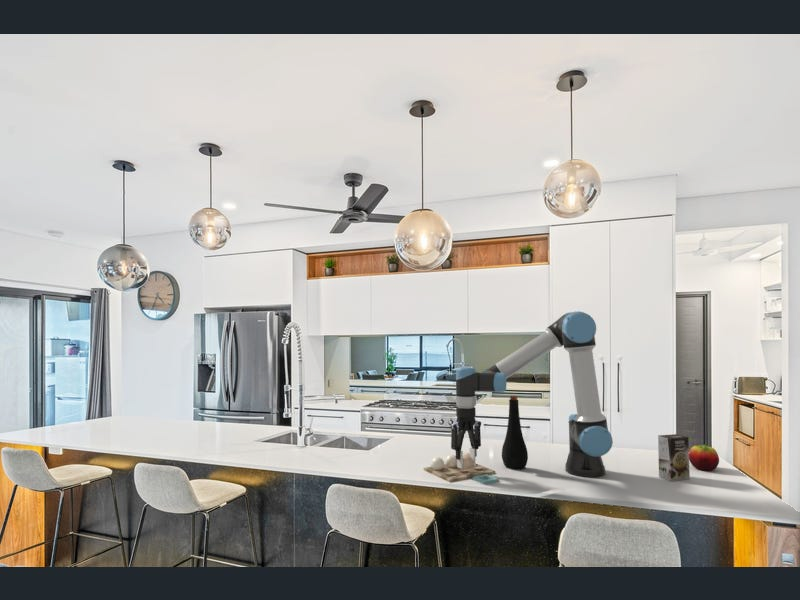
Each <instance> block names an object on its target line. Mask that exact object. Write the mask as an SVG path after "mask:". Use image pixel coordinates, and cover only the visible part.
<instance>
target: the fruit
mask: <svg viewBox="0 0 800 600" xmlns="http://www.w3.org/2000/svg"><path fill="white" fill-rule="evenodd" d="M719 463H720V456H719V455H718V452H717V450H716V449H715V448H714V447H711V446H707V445H706V444H702V445H693V446H692V447H691V448H689V464H691V465H692V467H693V468H695V469H697V470H699V471H705V472H711V471H714V470H715V469H716V468H717V467H718V466H719Z"/></svg>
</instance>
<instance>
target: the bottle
mask: <svg viewBox="0 0 800 600" xmlns="http://www.w3.org/2000/svg"><path fill="white" fill-rule="evenodd" d="M509 397H510V398H509V399H508V401H509V404H508V405H509V406H508V420H507V429H506V434H505V439H504V442H503V445H502V448H501V459H502V463H503V465H504V467H505V468H506V469H510V470H524V469H525V467H526V466H527V464H528V459H529V454H528V448H527V446H526V445H527V444H526V442H525V439H524V436H523V432H522V426H521V418H520V408H519V399H518V396H517V395H509Z"/></svg>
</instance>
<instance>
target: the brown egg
mask: <svg viewBox="0 0 800 600" xmlns="http://www.w3.org/2000/svg"><path fill="white" fill-rule="evenodd" d="M472 466H473V459H472V458H471V457H470V456H469V455H464V456H463V469H465V470H469V469H471V468H472Z"/></svg>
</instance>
